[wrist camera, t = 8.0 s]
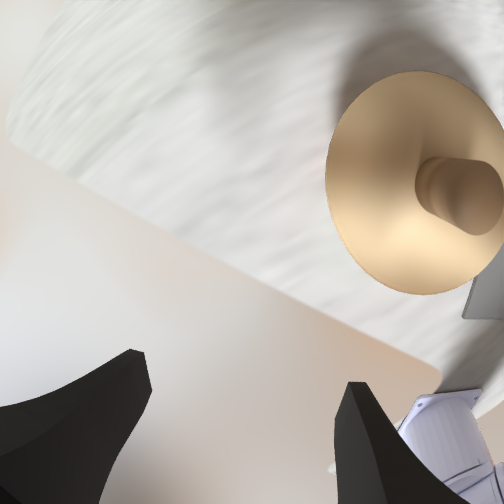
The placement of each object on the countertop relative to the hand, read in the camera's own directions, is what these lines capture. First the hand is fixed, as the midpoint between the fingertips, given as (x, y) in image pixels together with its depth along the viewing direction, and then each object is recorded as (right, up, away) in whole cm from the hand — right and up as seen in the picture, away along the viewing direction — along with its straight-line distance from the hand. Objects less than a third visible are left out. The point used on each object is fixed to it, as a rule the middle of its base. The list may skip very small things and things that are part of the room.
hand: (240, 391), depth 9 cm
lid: (+9, +8, +3) cm, 13 cm away
